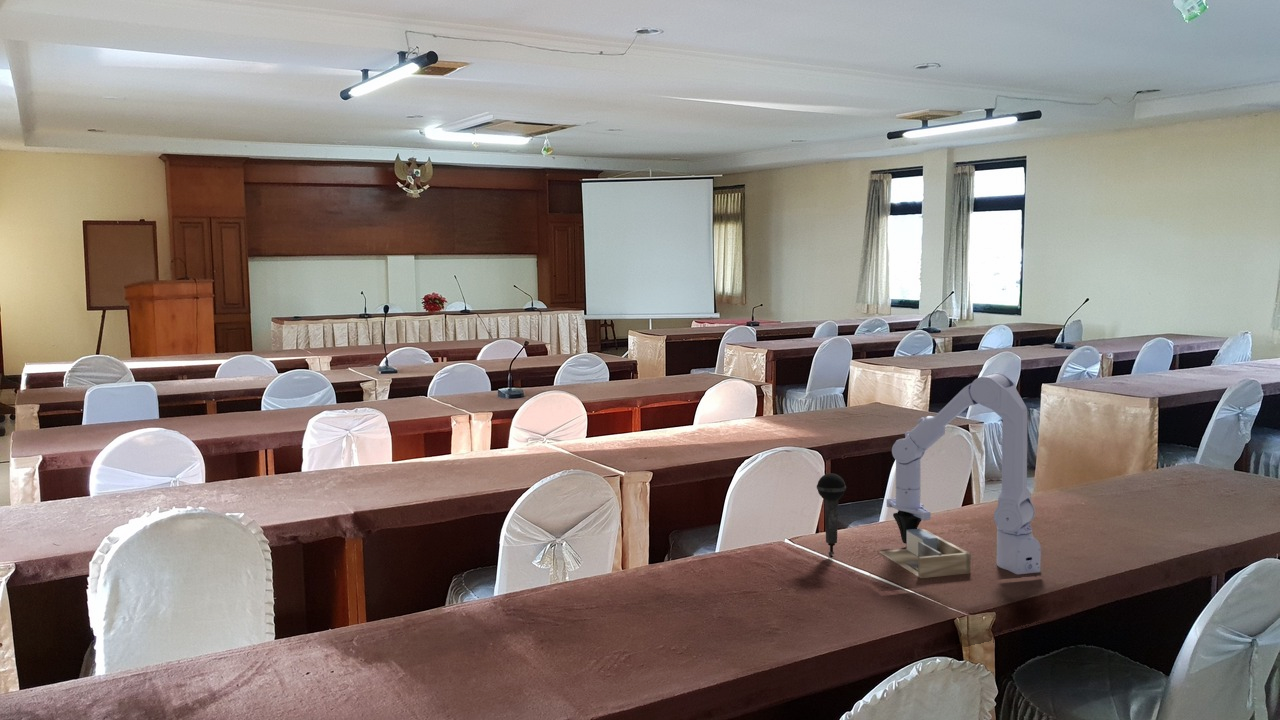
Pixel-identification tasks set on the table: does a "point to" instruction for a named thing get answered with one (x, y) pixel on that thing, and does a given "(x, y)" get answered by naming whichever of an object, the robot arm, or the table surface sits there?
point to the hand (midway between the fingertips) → (907, 542)
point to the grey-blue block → (919, 540)
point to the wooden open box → (933, 559)
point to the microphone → (831, 504)
